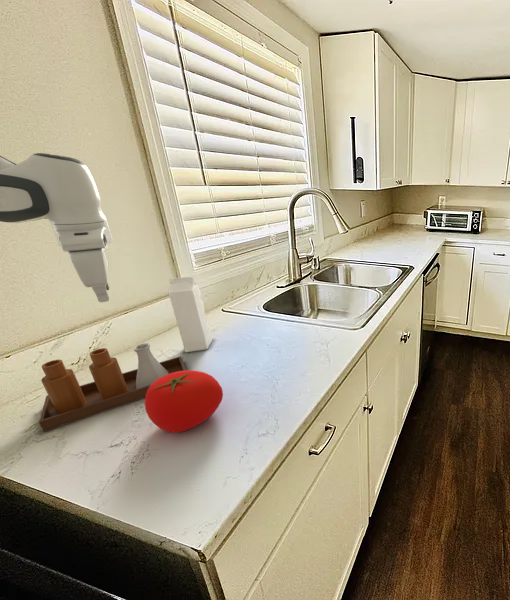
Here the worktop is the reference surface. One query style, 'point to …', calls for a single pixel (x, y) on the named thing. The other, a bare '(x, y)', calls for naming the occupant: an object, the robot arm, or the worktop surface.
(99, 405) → the tray
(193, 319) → the milk
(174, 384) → the tomato
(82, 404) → the spice bottle
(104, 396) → the spice bottle
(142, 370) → the flask
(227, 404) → the worktop surface
